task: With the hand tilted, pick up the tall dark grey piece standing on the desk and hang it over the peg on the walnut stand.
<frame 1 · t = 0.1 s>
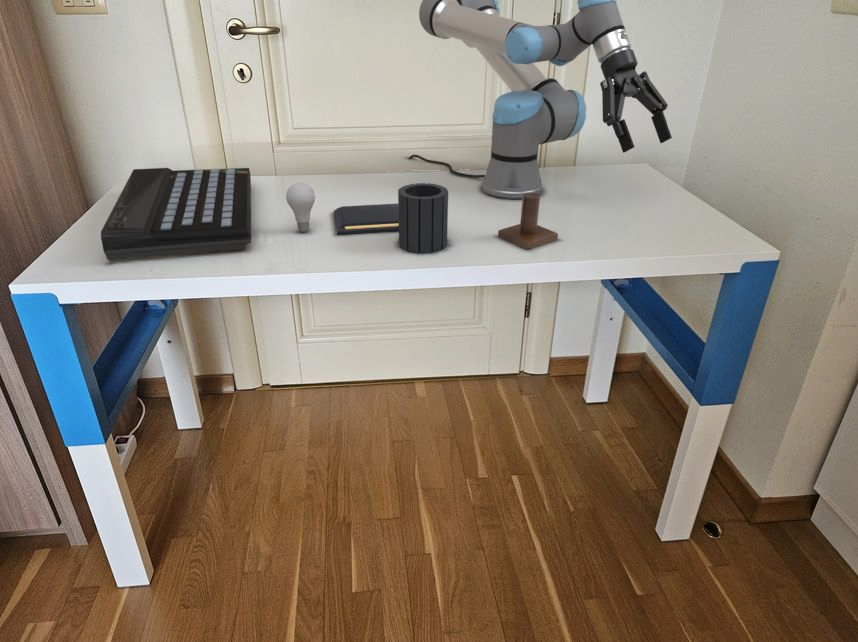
hand: (648, 145, 147), 15 cm above the table, tool tilted 35°, fingers open, 13 cm apart
computer keyboard: (190, 221, 150), on the table
dark grey piece: (422, 243, 138), on the table
wallet: (378, 221, 150), on the table
lightbulb: (304, 232, 144), on the table
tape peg: (527, 238, 140), on the table
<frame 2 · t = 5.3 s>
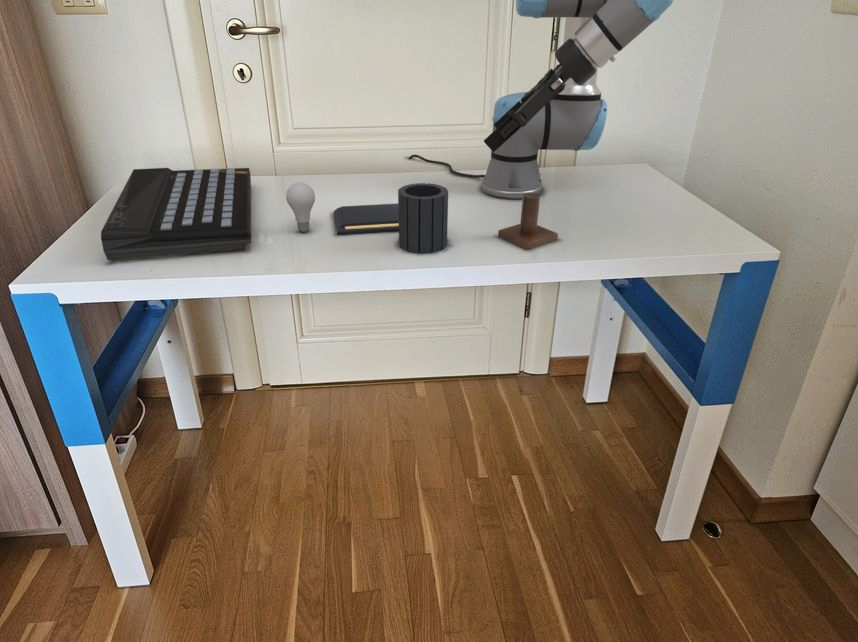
hand: (493, 137, 123), 23 cm above the table, tool tilted 45°, fingers open, 13 cm apart
nothing on the table moved.
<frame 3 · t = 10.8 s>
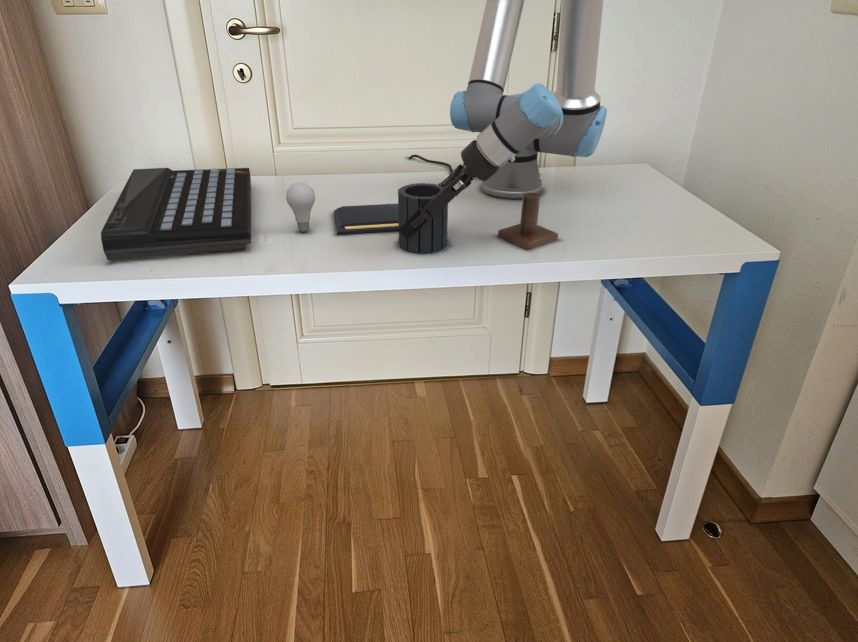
hand: (409, 224, 136), 4 cm above the table, tool tilted 45°, fingers closed on dark grey piece, 10 cm apart
dark grey piece: (422, 243, 138), on the table, touching gripper
everything else where it was.
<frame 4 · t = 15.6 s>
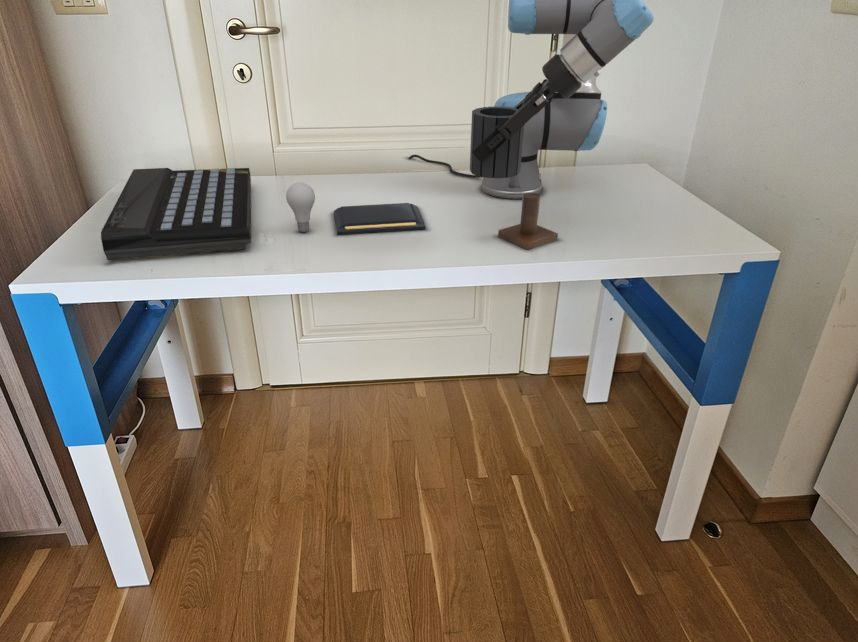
hand: (481, 149, 130), 19 cm above the table, tool tilted 45°, fingers closed on dark grey piece, 10 cm apart
dark grey piece: (494, 170, 132), point 15 cm above the table, touching gripper
everything else where it was.
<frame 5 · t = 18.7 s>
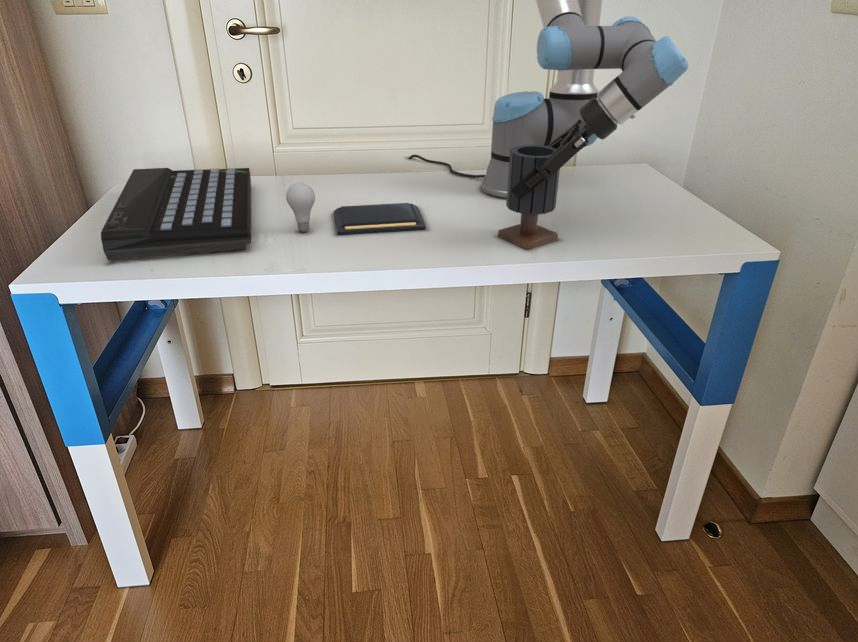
hand: (518, 186, 135), 11 cm above the table, tool tilted 45°, fingers closed on dark grey piece, 10 cm apart
dark grey piece: (530, 206, 137), point 7 cm above the table, touching gripper
everything else where it was.
when the fingers open (6 cm above the table, at t = 20.8 s): dark grey piece stays where it is, resting on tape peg.
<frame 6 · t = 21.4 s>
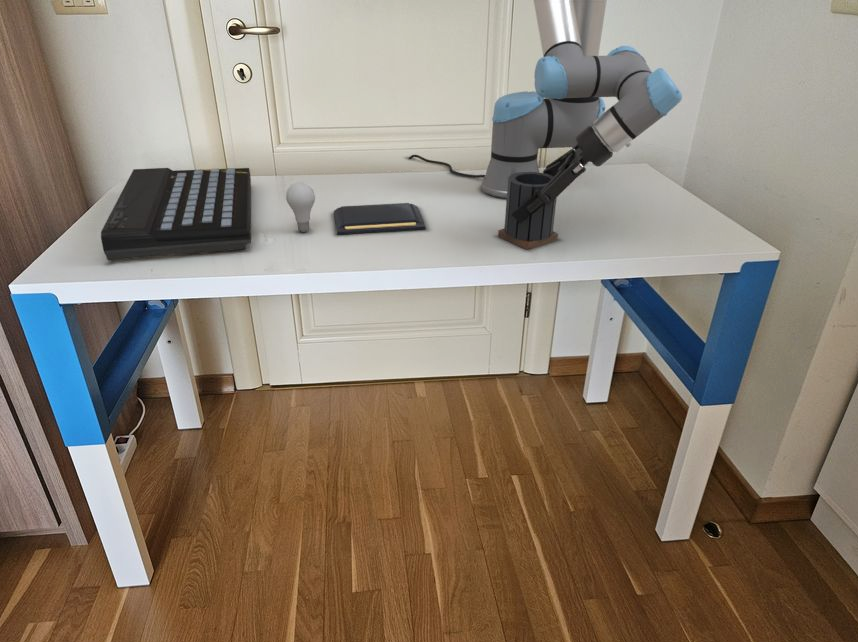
hand: (519, 207, 137), 7 cm above the table, tool tilted 45°, fingers open, 13 cm apart
dark grey piece: (528, 231, 140), point 1 cm above the table, touching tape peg
everything else where it was.
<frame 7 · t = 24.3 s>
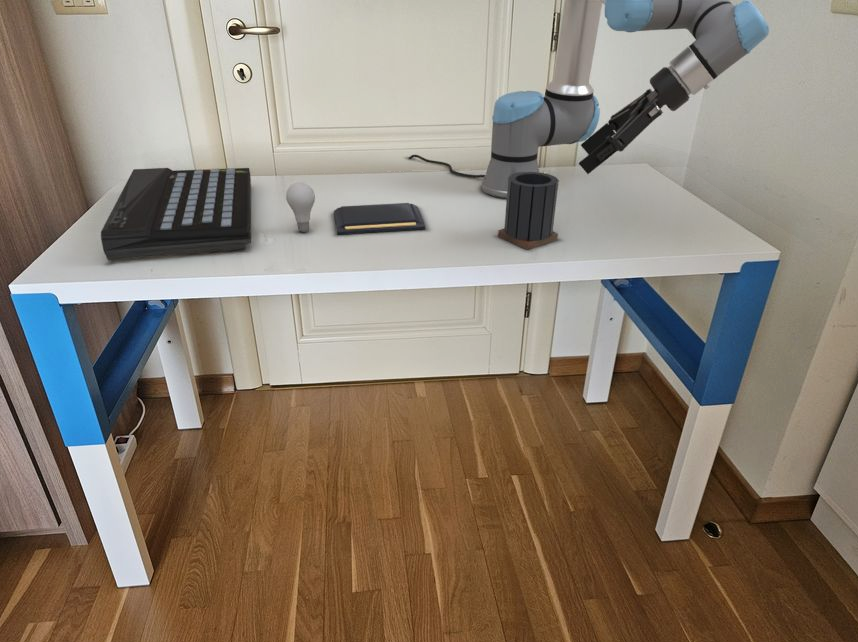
hand: (584, 159, 129), 18 cm above the table, tool tilted 45°, fingers open, 13 cm apart
nothing on the table moved.
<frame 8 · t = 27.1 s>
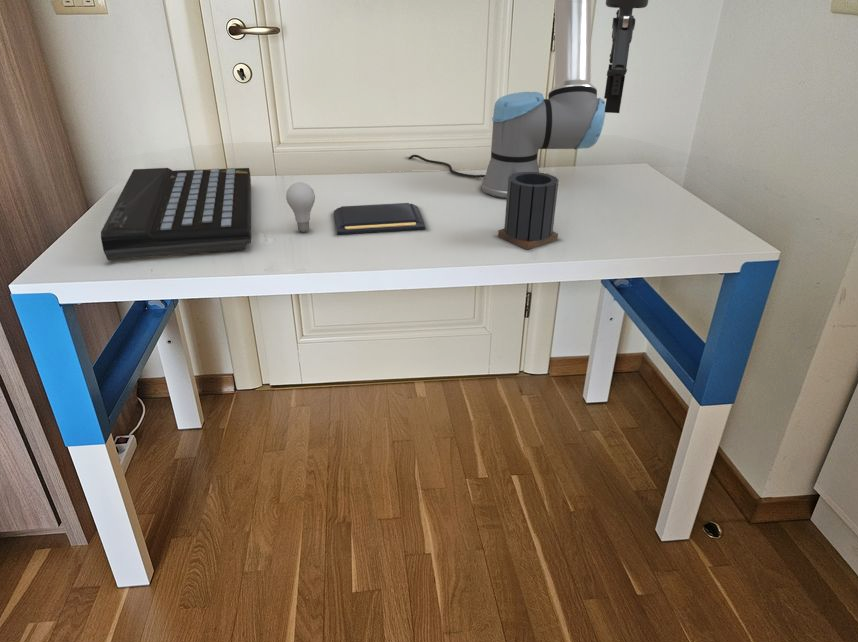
hand: (611, 105, 129), 27 cm above the table, tool pointing down, fingers open, 13 cm apart
nothing on the table moved.
at the end: dark grey piece 0.1 cm off-centre on the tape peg, point 1.5 cm above the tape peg's base; dark grey piece tilted 0°; the gripper is holding nothing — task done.
